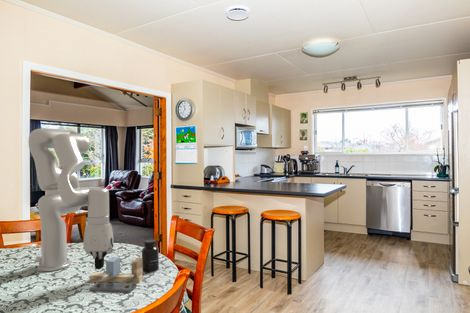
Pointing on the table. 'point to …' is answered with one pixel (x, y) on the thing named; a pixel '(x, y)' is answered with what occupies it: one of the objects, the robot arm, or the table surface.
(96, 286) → the flange plate
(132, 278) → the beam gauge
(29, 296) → the table surface
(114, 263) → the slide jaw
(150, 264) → the supplement bottle
